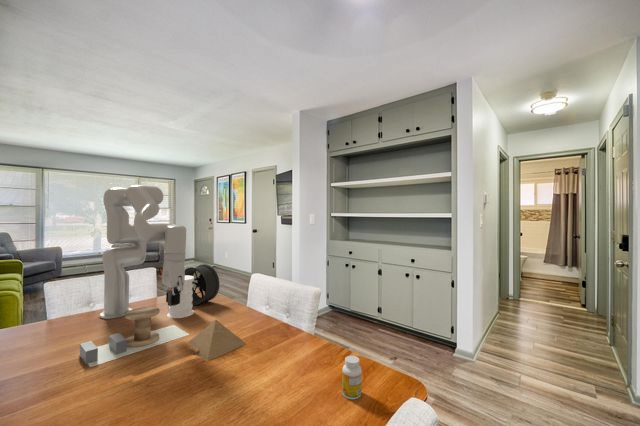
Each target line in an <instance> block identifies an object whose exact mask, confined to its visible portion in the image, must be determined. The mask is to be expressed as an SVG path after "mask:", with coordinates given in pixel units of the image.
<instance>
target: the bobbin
mask: <svg viewBox="0 0 640 426" xmlns="http://www.w3.org/2000/svg"><path fill="white" fill-rule="evenodd" d="M160 311H161V310H160V307H155V306H154V307H153V306H147V307H146V306H145V307H138V308H135V309H132V310H131V311H128V312H127V313H126V314H125V316H124V319H126V320H129V321H132V320H133V322H134V324H133V335H130V336H128V337H127V347H132V348H134V347H142V346H146V345H150V344H152V343H154V342H156V341H157V340H158V339H159V334H158V333H156V332H151V327H152V325H151V324H152V323H151V322H152V320H151V318H153V317H155V316H156V317H157V315H159V314H160V313H161V312H160Z"/></svg>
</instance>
